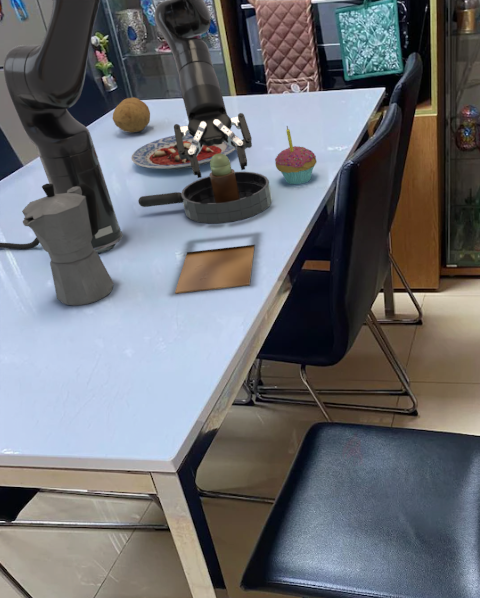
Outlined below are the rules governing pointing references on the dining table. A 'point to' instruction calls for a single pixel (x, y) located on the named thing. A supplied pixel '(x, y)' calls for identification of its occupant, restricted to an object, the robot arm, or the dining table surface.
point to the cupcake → (295, 163)
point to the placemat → (216, 269)
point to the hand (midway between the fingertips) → (221, 171)
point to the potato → (131, 115)
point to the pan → (251, 201)
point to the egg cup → (223, 179)
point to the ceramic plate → (174, 153)
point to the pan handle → (160, 199)
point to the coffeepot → (70, 243)
